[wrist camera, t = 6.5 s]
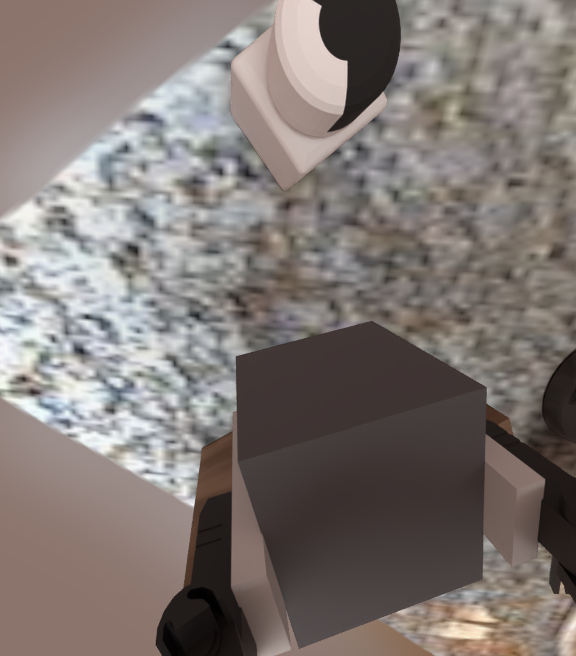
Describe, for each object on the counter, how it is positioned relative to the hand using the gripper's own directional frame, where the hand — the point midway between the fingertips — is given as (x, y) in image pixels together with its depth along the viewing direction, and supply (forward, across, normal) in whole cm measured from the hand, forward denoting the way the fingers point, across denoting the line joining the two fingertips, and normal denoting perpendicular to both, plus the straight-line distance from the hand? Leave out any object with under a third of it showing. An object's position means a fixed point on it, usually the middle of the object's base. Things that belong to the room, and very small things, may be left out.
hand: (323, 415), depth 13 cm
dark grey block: (0, 0, 0) cm, 1 cm away
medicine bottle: (+16, -5, -16) cm, 23 cm away
